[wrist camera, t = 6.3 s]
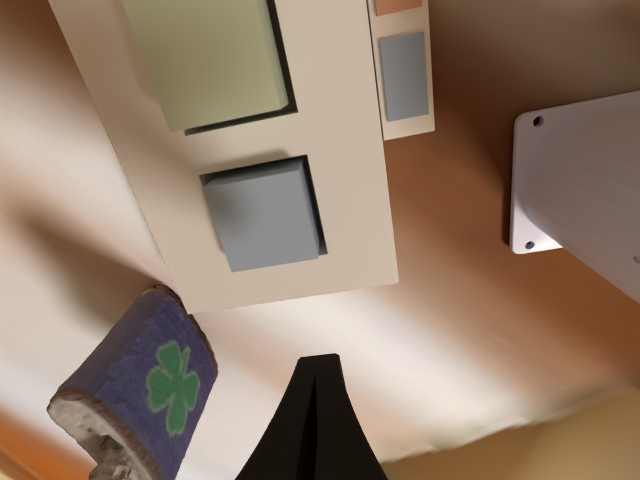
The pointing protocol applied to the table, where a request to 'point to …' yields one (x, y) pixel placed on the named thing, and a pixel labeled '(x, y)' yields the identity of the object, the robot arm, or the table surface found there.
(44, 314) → the table surface
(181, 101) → the sage key
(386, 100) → the tile
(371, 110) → the keypad base
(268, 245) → the slate key
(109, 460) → the flask
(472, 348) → the table surface
